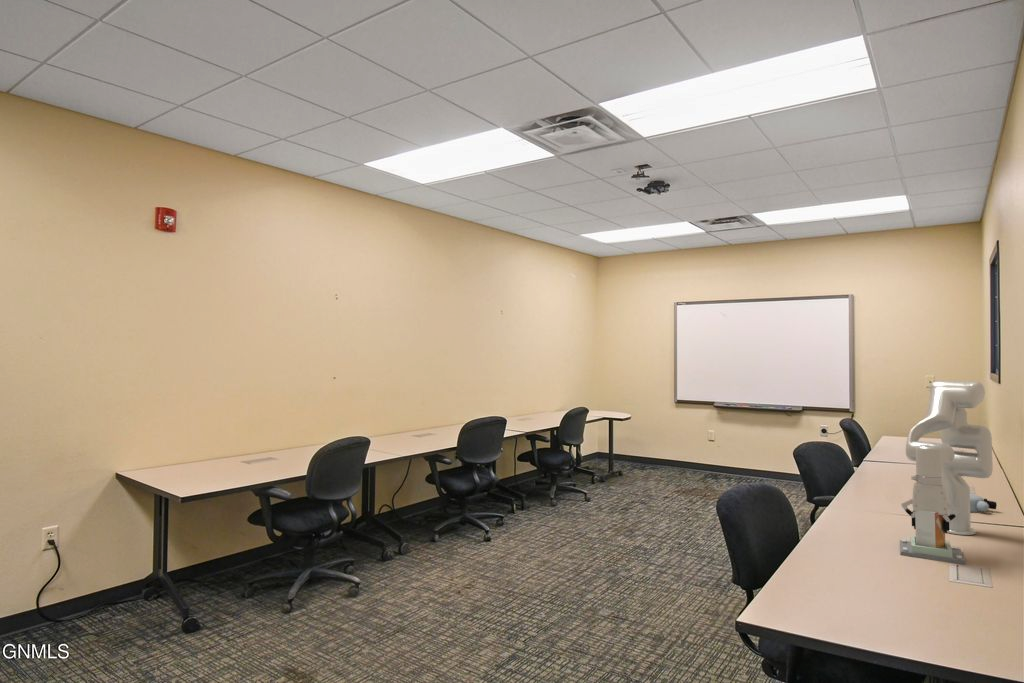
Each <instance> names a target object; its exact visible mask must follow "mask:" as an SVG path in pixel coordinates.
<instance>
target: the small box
mask: <svg viewBox="0 0 1024 683" xmlns="http://www.w3.org/2000/svg"><path fill="white" fill-rule="evenodd" d="M944 520H945V519H944V517H943V516H942V515H938V512H933V511H925V510H918V512H915V525H916V529H915V536H916V545H919V546H926V547H933V548H942V547H945V540H946V533H945V532H944Z"/></svg>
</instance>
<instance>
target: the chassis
mask: <svg viewBox="0 0 1024 683" xmlns="http://www.w3.org/2000/svg"><path fill="white" fill-rule="evenodd" d="M899 551H900V552H899V553H900V556H904V557H905V556H906V557H912V558H913V557H914V558H918V559H919V558H920V559H925V560H927V559H928V560H933V561H940V562H945V563H953V564H957V565H959V564H960V565H966V560H965V557H964V554H963V552H962V549H961V548H959V546H951V543H950V541H949V540H946V539H945V547H942V548H933V547H926V546H919V545H916V535H910V541H909V540H908V539H899Z"/></svg>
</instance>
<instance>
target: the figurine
mask: <svg viewBox="0 0 1024 683" xmlns="http://www.w3.org/2000/svg"><path fill="white" fill-rule="evenodd" d="M990 509H992V510H996V509H997V502H996V501H992V500H988V499H987V498H984V497H982V496H979V495H976V494H975V493H972V492H970V513H972V512H973V513H980V511H981V512H987V511H988V510H990Z"/></svg>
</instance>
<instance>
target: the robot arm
mask: <svg viewBox="0 0 1024 683" xmlns="http://www.w3.org/2000/svg"><path fill="white" fill-rule="evenodd" d="M928 390H929V398H928V404H927V409H926V416H925V418H923V419H921V420H920V421H918V422H917V423H916V424H915V425H914V426H912V427H911V429H910V431H909V432H908V435H907V438H906V439H907V440H906V443H905V455H906V458H907V459H908V460H910V461H912V462H915V472H916V473H915V475H911V480H913V481H915V482H914V483H913V485H912V486H913V488H912V495H911V496H912V498H911V499H908V500H906V501H904V502H902V503H901V504H900V506H901V507H902V509H903V510H904V511H905V513H907V515H909V516H910V517H911V526H912V527H913V529H914V530H916V525H915V512H918V510H925V511H933V512H938V515H942V516H943V517H944V519H945V520H944V532H945V534H953V535H960V536H973V535H976V533H977V532H976V529H975V528H972V527H971V512H970V493H971V489H970V486H969V484H968V483H967V481H966V480H965V479H964V478H963V477H969V478H976V479H989V478H991V476H992V474H993V438H992V433H991V431H990V429H989V428H988V427H986V426H985V425H979V424H968V412H967V410H966V409H976V408H977V407H978V406H979V405H980V404H982V402H983V401H984V400H985V394H986V392H985V387H984V385H983V384H982V382H980V381H977V380H976V381H973V380H936V381H933V382H930V384H929V389H928ZM939 431H940V440H941V442H942V443H941V442H931V441H930V442H929V441H919V440H920V439H921V438H923V437H924V436H926V435H929V434H931V433H935V432H939ZM953 448H958V449H969V450H974V451H976V452H970V451H969V452H968V451H962V450H961V451H958V450H954V449H953ZM908 506H912V510H911V509H909V507H908Z"/></svg>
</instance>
